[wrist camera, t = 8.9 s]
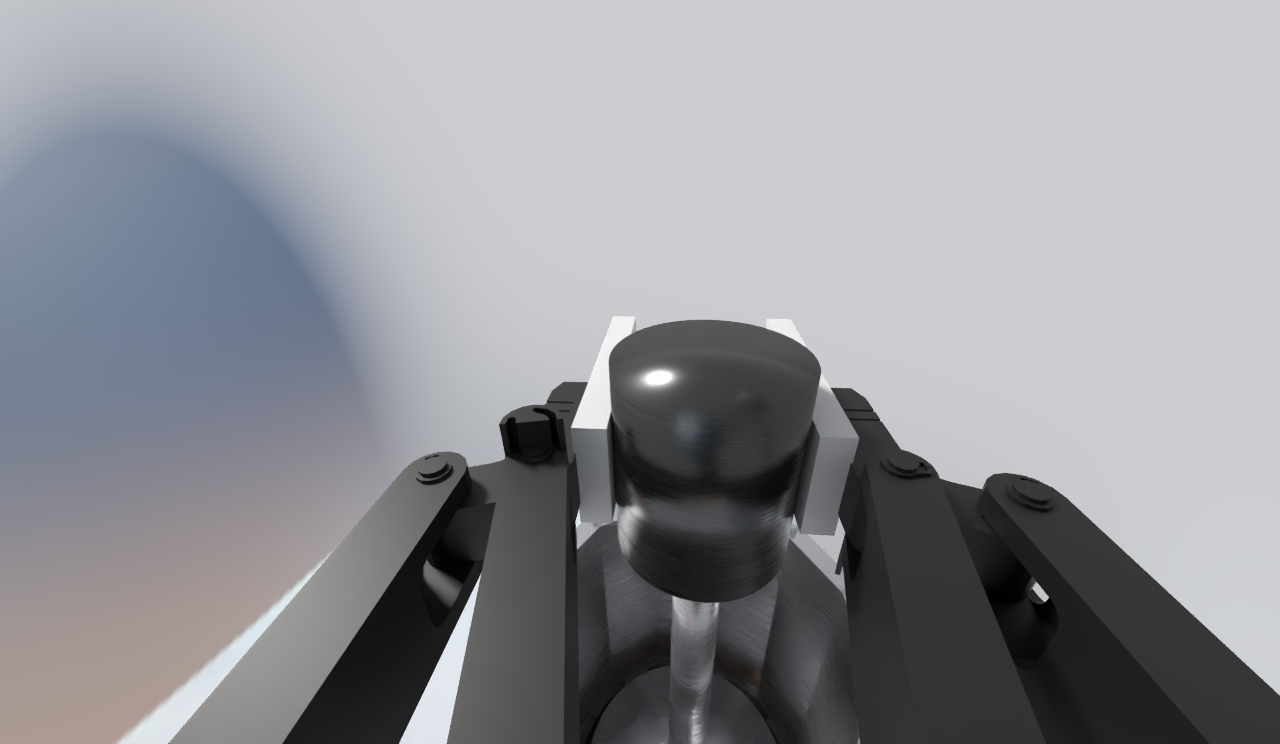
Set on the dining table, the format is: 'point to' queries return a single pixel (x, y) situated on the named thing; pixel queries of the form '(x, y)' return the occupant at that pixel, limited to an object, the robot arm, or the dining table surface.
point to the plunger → (703, 505)
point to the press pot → (724, 639)
